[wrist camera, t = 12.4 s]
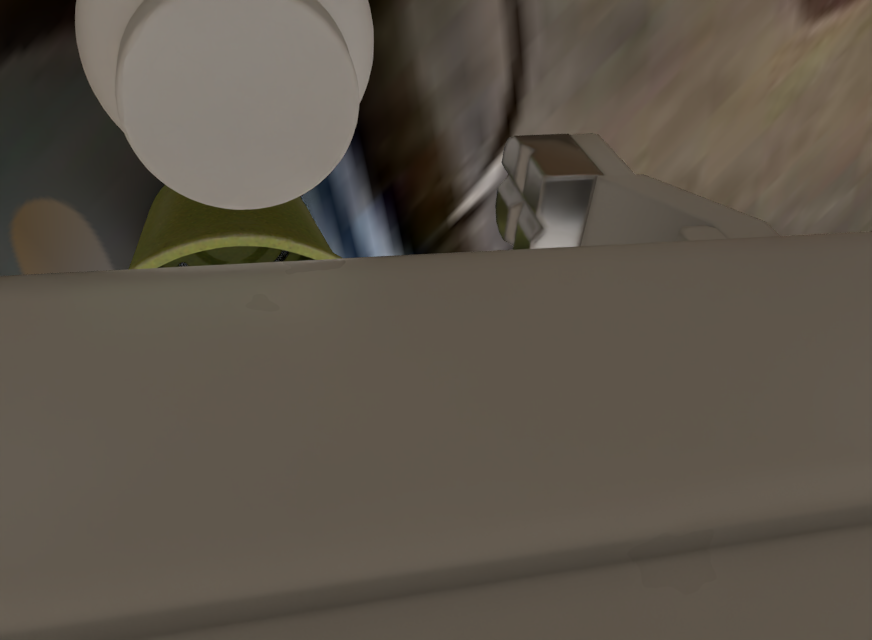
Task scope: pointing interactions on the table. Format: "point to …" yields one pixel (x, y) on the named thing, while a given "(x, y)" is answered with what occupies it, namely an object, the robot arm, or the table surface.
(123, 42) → the supplement bottle
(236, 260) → the plant pot
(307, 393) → the robot arm
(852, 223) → the table surface
